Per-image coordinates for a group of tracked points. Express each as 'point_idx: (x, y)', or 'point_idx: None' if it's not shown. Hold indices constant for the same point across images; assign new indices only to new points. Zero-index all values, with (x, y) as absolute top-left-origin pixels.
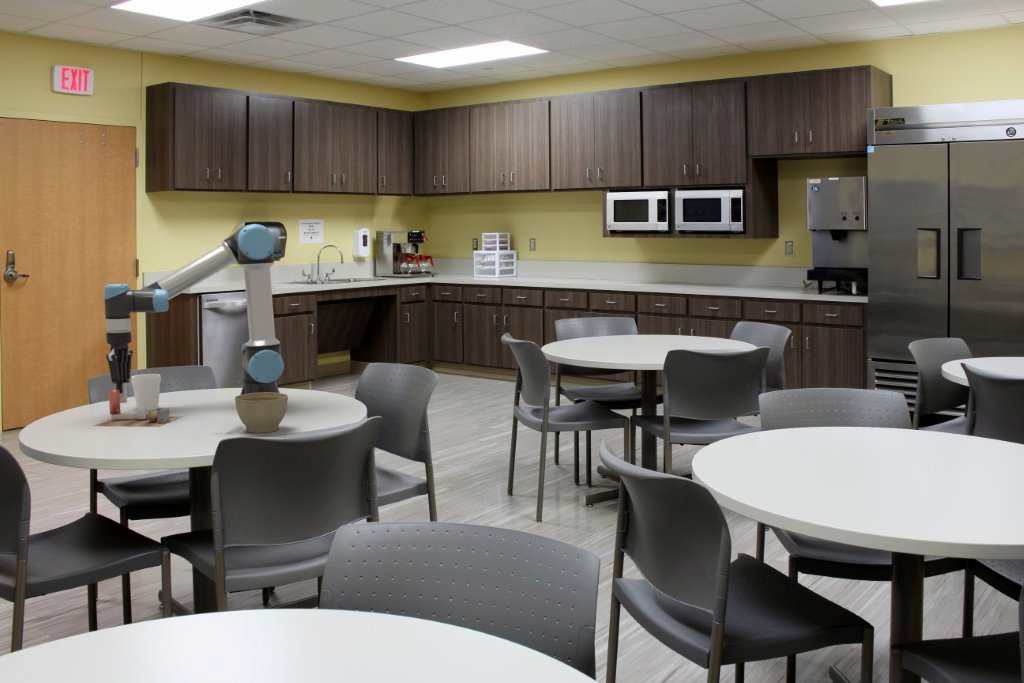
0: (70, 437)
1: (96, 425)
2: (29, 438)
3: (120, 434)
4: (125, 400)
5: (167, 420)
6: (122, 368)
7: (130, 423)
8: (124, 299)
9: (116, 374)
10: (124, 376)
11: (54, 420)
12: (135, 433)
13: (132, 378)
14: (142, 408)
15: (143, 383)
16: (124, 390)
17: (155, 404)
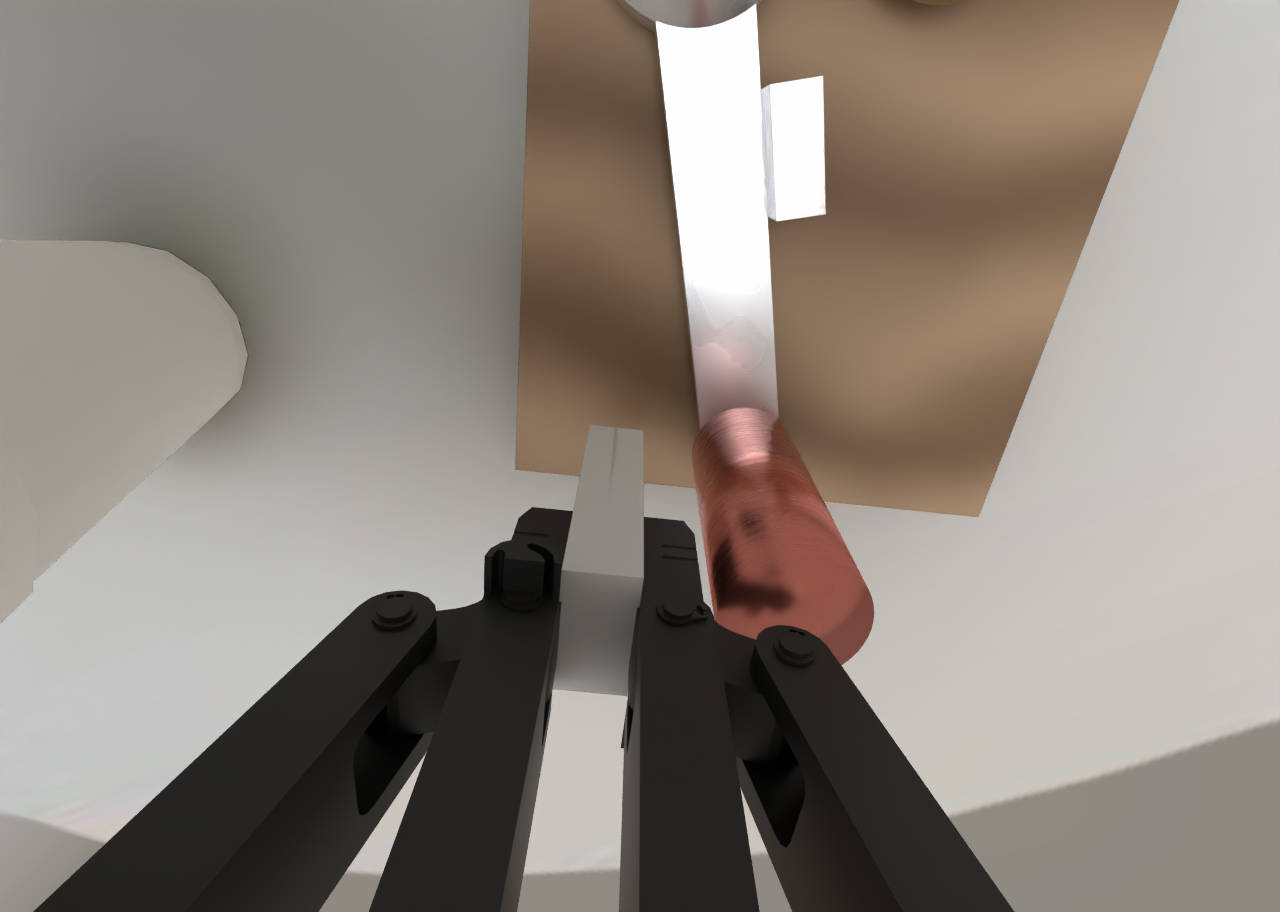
0: (1199, 551)
1: (969, 493)
2: (1127, 760)
3: (1237, 184)
4: (626, 442)
5: None
6: (669, 887)
7: (947, 208)
8: None
9: (916, 802)
10: (544, 684)
11: (542, 835)
12: (1247, 28)
13: None
14: (215, 369)
15: None
16: (638, 510)
17: (89, 251)
